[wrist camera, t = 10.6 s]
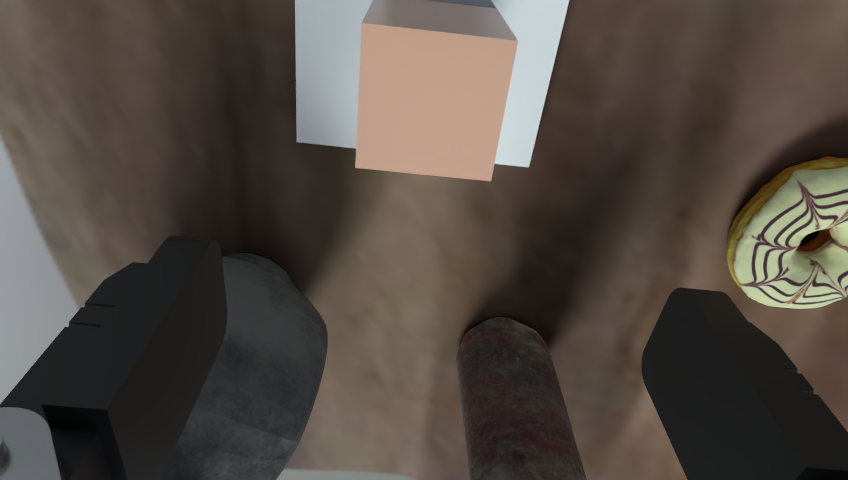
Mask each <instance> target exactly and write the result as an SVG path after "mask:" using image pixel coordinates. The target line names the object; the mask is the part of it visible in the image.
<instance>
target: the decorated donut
mask: <svg viewBox="0 0 848 480" xmlns="http://www.w3.org/2000/svg"><path fill="white" fill-rule="evenodd" d="M818 230H820V232H819V234H817V235H816V236H815V237H814V238H813V239H812V240H810V241H808V242H806V243H804V244H802V245H801V246H799V245H800V242H801V240H802V239H803V238H804V237H805V236H806V235H808V234H810V233H812V232H815V231H818ZM727 240H728V241H727V248H726V256H727V263H728V266H729V270H730V273H731V275H732V277H733V279H734V281H735V282H736V283H737V285H738V286H739V287H740V288H741V289H742V290H743V291H744V292H745V293H746V295H747V296H748V297H750V298H752V299H753V300H756V301H758V302H760V303H763V304H765V305H768V306H774V307H783V308H797V309H806V308H817V307H822V306H825V305H828V304H830V303H832V302H835V301H837V300H841V299H844V298H846V297H847V296H848V158H835V157H823V158H821V159H819V160H812V161H808V162H803V163H800V164H798V165H794V166H791V167H788V168H786V169H784V170H783V171H781V172H780V173H779V174H778V175H777V176H775V177H774V178H773V179H772V180H771V181H770V182H769V183H767V184H765V185H764V186H762V187H761V188H760V189H759V191H758V193H756V194H755V195H754V196H753V197H752V198H751V200H750V201H749V202H748V203H747V204H746V205H745V206H744V207H743V209H742V210H741V212H740V213H739V214H738V215H737V216H736V218H735V219H734V221H733V223H732V226H731V229H730V230H729V236H728V238H727Z"/></svg>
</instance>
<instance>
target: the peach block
mask: <svg viewBox="0 0 848 480" xmlns="http://www.w3.org/2000/svg"><path fill="white" fill-rule="evenodd" d="M517 44H518V40H517V38H516V37H515V35H514V34H513V32H512V31H511V29H510V28H509V26H508V25H507V23H506V21H505V20H504V18H503V17H502V15H501V14H500V12H499V11H498V9H497V8H490V7H481V6H473V5H464V4H456V3H447V2H439V1H430V0H373V1H372V3H371V5H370V7H369V9H368V11H367V13H366V15H365V17H364V19H363V21H362V24H361V47H360V71H359V94H358V117H357V141H356V164H355V168H363V169H373V170H383V171H393V172H403V173H413V174H423V175H434V176H444V177H454V178H464V179H474V180H484V181H491V178H492V173H493V168H494V163H495V158H496V152H497V147H498V142H499V137H500V132H501V127H502V122H503V116H504V111H505V106H506V101H507V96H508V91H509V85H510V80H511V75H512V70H513V65H514V60H515V55H516V49H517Z"/></svg>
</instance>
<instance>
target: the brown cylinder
mask: <svg viewBox="0 0 848 480" xmlns="http://www.w3.org/2000/svg"><path fill="white" fill-rule="evenodd" d="M456 360H457V368H458V378H459V388H460V396H461V404H462V412H463V421H464V429H465V437H466V446H467V455H468V466H469V474H470V480H587V479H586V476H585V472H584V469H583V465H582V462H581V458H580V455H579V451H578V448H577V445H576V442H575V439H574V435H573V431H572V427H571V423H570V420H569V416H568V413H567V409H566V406H565V402H564V399H563V395H562V392H561V388H560V385H559V382H558V378H557V375H556V371H555V369H554V365H553V362H552V359H551V356H550V353H549V350H548V347H547V345H546V343H545V342H544V340H543V339H542V337H541V336H540V335H539V334H538V333H537V331H535V330H533V329H531V328H529V327H528V326H526V325H523V324H521V323H518V322H517V321H514V320H512V319H511V318H507V317H496V318H492V319H488V320H486V321H484V322H482V323H481V324H479V325H478V326H476V327H474V328H472V329H471V330H469V331H468V332H467V333H466V334H465V336H464V337H463V339H462V342H461V345H460V347H459V349H458V354H457V359H456Z"/></svg>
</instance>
